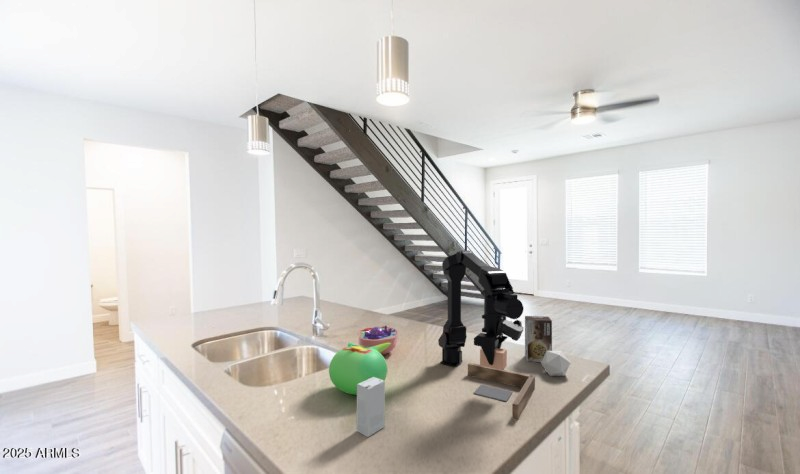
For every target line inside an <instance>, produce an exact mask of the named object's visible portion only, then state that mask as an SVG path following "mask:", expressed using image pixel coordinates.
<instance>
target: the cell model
mask: <svg viewBox="0 0 800 474" xmlns="http://www.w3.org/2000/svg"><path fill="white" fill-rule="evenodd" d="M357 335H358V346H367V347H373V346H376V345H380V344H384V343H391V345H390V346H389V347H387V348H386V349H385V350H383V351H382V352H381V353H380V354H381V355H382V356H383V355H385V354H388V353H390V352H392V351H393V350H395V348H397V345H398V339H399V330H397V329H396V328H394V327H390V326H387V325H382V326H373V327H367V328H362V329H359V330H358V331H357Z"/></svg>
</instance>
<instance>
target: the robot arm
mask: <svg viewBox="0 0 800 474" xmlns="http://www.w3.org/2000/svg"><path fill="white" fill-rule="evenodd" d="M441 267H442V271H443V272H442V273H443V275H444V277H445V279H446V281H447V319H446V322H445V323H444V324H443V327H442V333H441V335H440V336H439V338H438V346H439V347H440V348H442V349H441V351H442V352H441V353H442V354H441V356H442V357H441V361H440V362H439V363H440V364H442V365H447V366H451V367H458V366H460V365H461V364H462V362H463V351H462V348H464V347H465V345H466V343H467V342H466V341H467V337H468V336H467V327H466V326H465V325H464V323H463V322H462V281H463V279H464V277H465V276H466V274H467V269H468V270H469V271H471V272H472V273H473V274H474V275H475V276H476V277H478V283H479V285H480V286H481V287H482V288H483V290H482V291H480V294H481V295H483V297H484V298H483V302H484V303H483V314H481V319H483V327H482V328H481V332H480V333H479V334H477V335H476V336H475V337H474V338H473V345H474V346H477V347H480V349H481V348H482V350H483V352H484V354H485V356H486V358H487V361H488V363H489V364H490V365H493V362H494V357H495V351H496V348H500V349H502V344H503V342H505V341H507V339H508V338H511V339H512V340H513V341H515V342H517V341H519V339H520V338H521V336H522V333H523V332H524V327H523V324H522V321H521V320H519V318H520V317H521V316H522V315H523V312H524V306H523V305H524V304H523V303H522V301H521V300H520V299H518V294H515V292H514V287H513V286H512V284H511V282H510V279H509V277H508V275H507V273H506V271H504V270H503V269H500V268H498V267H493V266H490V265H488V264H487V263H486V262H485V261H483V260H482V259H481V258H479V257H478V256H477V255H475V254H474V252H473V251H471V250H458V251H457V252H455V253H453V254H451V255H449V256H447V257H445V258H444V260H443V261H442V264H441ZM507 318H508V319H511V320H508V319H507ZM512 320H514V321H512Z"/></svg>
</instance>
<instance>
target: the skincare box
mask: <svg viewBox="0 0 800 474" xmlns="http://www.w3.org/2000/svg"><path fill="white" fill-rule="evenodd" d="M385 384H386V381H384V380H381V379H378V378H375V377H372V378H370V379H368V380H366V381H363V382H361V383H359V384H357V395H356V431H357V432H358V433H360V434H361V435H363V436H365V437H367V438H368V437H370V436H372V435H374V434H376V432H378V431H380V430H381V429H383V428H385V426H386V425H385V420H386V419H385V418H386V416H385V411H386V409H385V408H386V407H385V400H386V399H385V395H386V394H385V393H386V392H385V391H386V390H385V389H386V385H385Z"/></svg>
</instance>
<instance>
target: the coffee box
mask: <svg viewBox="0 0 800 474" xmlns="http://www.w3.org/2000/svg"><path fill="white" fill-rule="evenodd" d="M546 351H553V320H552V319H551V318H550V317H549V316H544V315H543V316H542V315H541V316H539V315H537V316H536V315H533V316H532V315H525V316H524V357H525V359H526V362H533V363H534V362H537V363H541V362H542V360H543V358H544V356H545V353H546Z"/></svg>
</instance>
